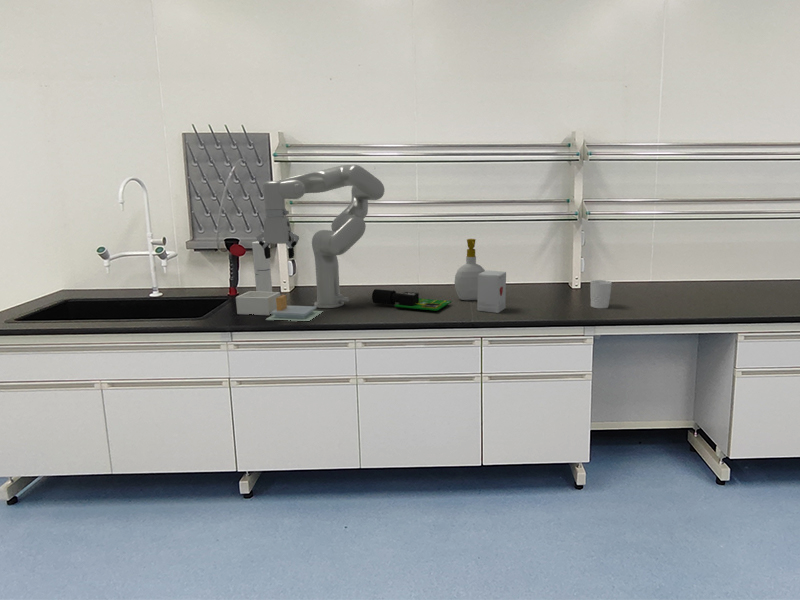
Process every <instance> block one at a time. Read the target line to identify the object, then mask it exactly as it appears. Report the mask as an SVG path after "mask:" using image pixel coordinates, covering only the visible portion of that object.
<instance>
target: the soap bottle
mask: <svg viewBox="0 0 800 600" xmlns="http://www.w3.org/2000/svg"><path fill="white" fill-rule="evenodd" d="M476 240H477V239H476V238H467V239H466V242H467V249H466V256H465V257H466V259H465V263H464V264H463V265H461V266H460V267H459V268H458V269H457V271H456V273H455V275H454V289H455V292H456V293H457V296H458V298H459V299H460V300H462V301H478V274H480V273H481V272H484V271H486V270H485V268H484V267H483V266H481V265H480V264H477V256H476V249H475V245H476Z"/></svg>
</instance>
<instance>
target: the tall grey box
mask: <svg viewBox="0 0 800 600" xmlns="http://www.w3.org/2000/svg"><path fill="white" fill-rule="evenodd" d="M262 241H263V242H264V243H265V241H264V240H262ZM251 245H252V247H251V248H252V255H253V258H252V259H253V269H254V279H255V280H254V281H255V289H256V290H255V291H258V292H273V285H272V284H273V282H272V272H271V271H272V270H271V260H270V259H271V257H270V258H268V259H266V258H265V255H264V249H263V248H262V246H261V245H260V244H259V242H258V240H257V241H252V242H251ZM268 247H269V248H270V245H269V246H268Z"/></svg>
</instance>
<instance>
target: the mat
mask: <svg viewBox="0 0 800 600" xmlns="http://www.w3.org/2000/svg"><path fill="white" fill-rule="evenodd" d="M322 312H323V313H324V310H313V311H312V313H311V314H310V315H308V316H307V317H305V318H304V319H303V318H279V317H275V315H274V314H271V315H269V317H267V318H266V319H265V321H274V320H288V321H287V322H297V321H310V320H311V321H313V320H314V319H316V318H317V317H318V315H319V314H320V315H321V313H322ZM323 313H322V314H323ZM320 315H319V316H320ZM316 316H317V317H316ZM315 317H316V318H315ZM313 318H314V319H313ZM312 319H313V320H312ZM290 320H291V321H290ZM311 321H310V322H311Z"/></svg>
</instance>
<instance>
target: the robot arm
mask: <svg viewBox="0 0 800 600" xmlns="http://www.w3.org/2000/svg"><path fill="white" fill-rule="evenodd" d="M344 187H351V190H350V191H351V202H350V203H349V205H348V206H347V207H345V209H344V210H343V211H342V212H341V213H339V215H337V216H336V217H335V218H334V219H333V220H332V223H331V229H330V230H328V229H323V230H318V231H317V232H315V233H314V234H313V236H312V238H311V246H312V252H313V255H314V256H313V257H314V264H315V265H314V267H315V279H316V280H315V282H316V297H317V300H316V301H315V302H313V304H314V305H313V306H316V308H318V309H334V308H339V307H342V306H344V304H345V303H349V302H350V297H348V296H344V295H343V293H341V292H340V291H341V290H340V274H339V259H338V256H341V255H343V254H345V253H346V252H348V251H349V250H350V249H351V248H352V247H353V246H354V245H355V244H356V243H357V242H359V240H360V239H361V238H362V237H363V236H364V234H365V231H366V222H365V220H364V219H365V218H366V217H367V215H368V211H369V201H379V200H380V199H382V198H383V196H384V194H385V186H384V184H383V182H382V181H381V180H380V179H379V178H378V177H376V176H375V175H373V174H372V173H371V172H369V170H367V169H365V168H364V167H362V166H360V165H357V164H344V165H338V166H334V167H331V168H326V169H321V170H317V171H311V172H308V173H304V174H300V175H295V176H291V177H286V178H283V179H282V178H281V179H279V180H268V181H264V182H263V184H262V189H263V201H264V211H265V217H264V221H263V233H261V234H259V235H258V236H257V237H256V240H257V241H258V242H259V244H260V245H261V246H262V248H263V249H264V255H265V258H266V259H268V258H270V259H271V256H272V255H271V248H270V245H271V244H272V245H273V244H274V245H277V244H278V245H279V244H281V245H283V244H285V245H286V246H287V247H288V248H287V253H288V254H287V255H288V259H293V258H294V256H295V249H294V248H295V247H296V245H298V242H299V239H300V236H299V235H297V234H295V233H294V232H292V225H291V223H290V219H289V216H287V215H289V213H290V211H289V210H287V209H286V204H285V200H299V199H300V198H303V196H305V194H317V193H326V192H329V191H333V190H336V189H340V188H344ZM293 239H294V240H293ZM263 241H265V243H264V242H263ZM268 246H269V247H268Z"/></svg>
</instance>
